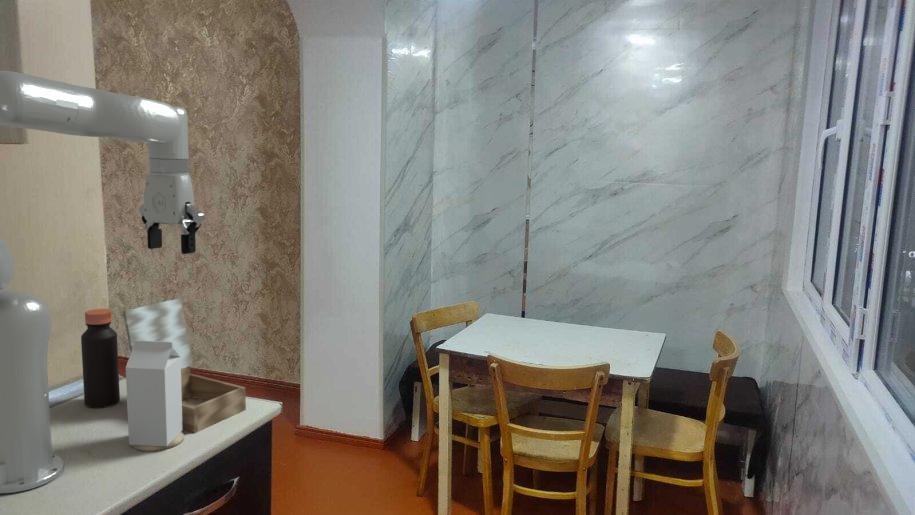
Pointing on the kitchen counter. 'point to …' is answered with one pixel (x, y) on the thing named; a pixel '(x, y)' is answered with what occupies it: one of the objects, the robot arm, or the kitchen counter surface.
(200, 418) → the box
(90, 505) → the kitchen counter surface
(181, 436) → the coaster
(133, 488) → the kitchen counter surface
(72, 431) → the kitchen counter surface
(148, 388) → the milk carton
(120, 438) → the kitchen counter surface
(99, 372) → the bottle
